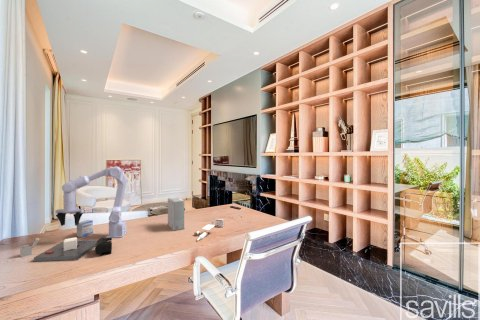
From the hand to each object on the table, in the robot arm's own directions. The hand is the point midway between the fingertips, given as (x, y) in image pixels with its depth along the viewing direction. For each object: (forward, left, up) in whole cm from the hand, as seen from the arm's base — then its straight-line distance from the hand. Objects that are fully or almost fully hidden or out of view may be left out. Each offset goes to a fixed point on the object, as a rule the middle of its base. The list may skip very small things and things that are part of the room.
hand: (69, 225), depth 128 cm
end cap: (-27, +16, -10) cm, 33 cm away
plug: (-9, +14, -10) cm, 19 cm away
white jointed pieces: (-80, -9, -11) cm, 81 cm away
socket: (-9, +14, -10) cm, 19 cm away
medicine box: (-2, -11, -10) cm, 15 cm away
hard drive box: (-57, -22, -10) cm, 62 cm away
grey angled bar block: (+9, +16, -10) cm, 21 cm away
